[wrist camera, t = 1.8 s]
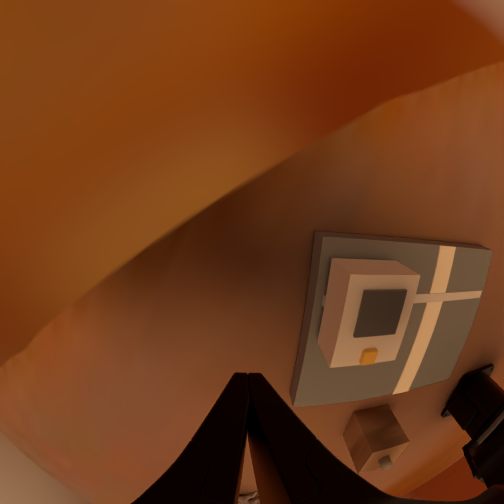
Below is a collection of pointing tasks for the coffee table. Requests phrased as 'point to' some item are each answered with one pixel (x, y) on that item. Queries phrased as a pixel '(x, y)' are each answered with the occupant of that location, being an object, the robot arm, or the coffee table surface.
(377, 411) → the wooden knobbed box
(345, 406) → the coffee table surface
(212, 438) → the robot arm
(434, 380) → the board
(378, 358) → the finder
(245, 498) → the figurine
